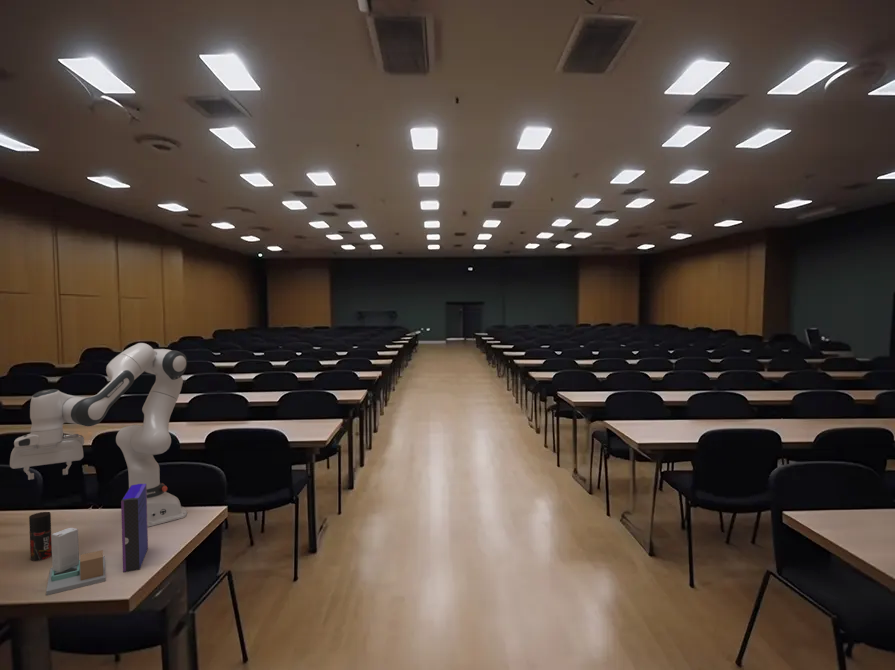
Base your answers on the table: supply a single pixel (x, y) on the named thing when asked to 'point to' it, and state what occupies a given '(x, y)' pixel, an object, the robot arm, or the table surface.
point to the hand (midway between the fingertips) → (48, 476)
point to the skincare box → (65, 549)
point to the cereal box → (134, 527)
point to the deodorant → (40, 536)
